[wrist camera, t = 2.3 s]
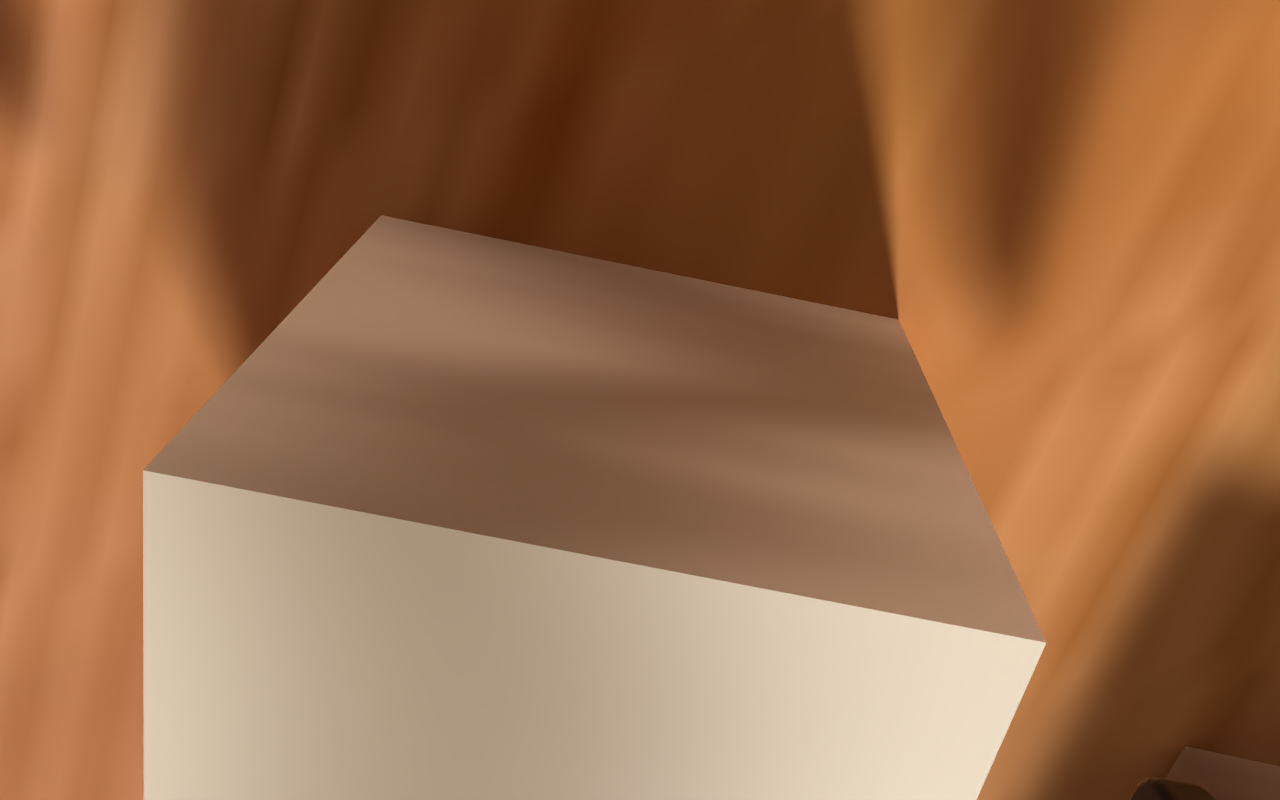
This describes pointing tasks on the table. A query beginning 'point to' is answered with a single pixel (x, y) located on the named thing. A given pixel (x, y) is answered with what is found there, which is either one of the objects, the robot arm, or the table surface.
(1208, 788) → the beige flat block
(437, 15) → the table surface
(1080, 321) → the table surface
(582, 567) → the maple cube
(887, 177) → the table surface
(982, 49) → the table surface
